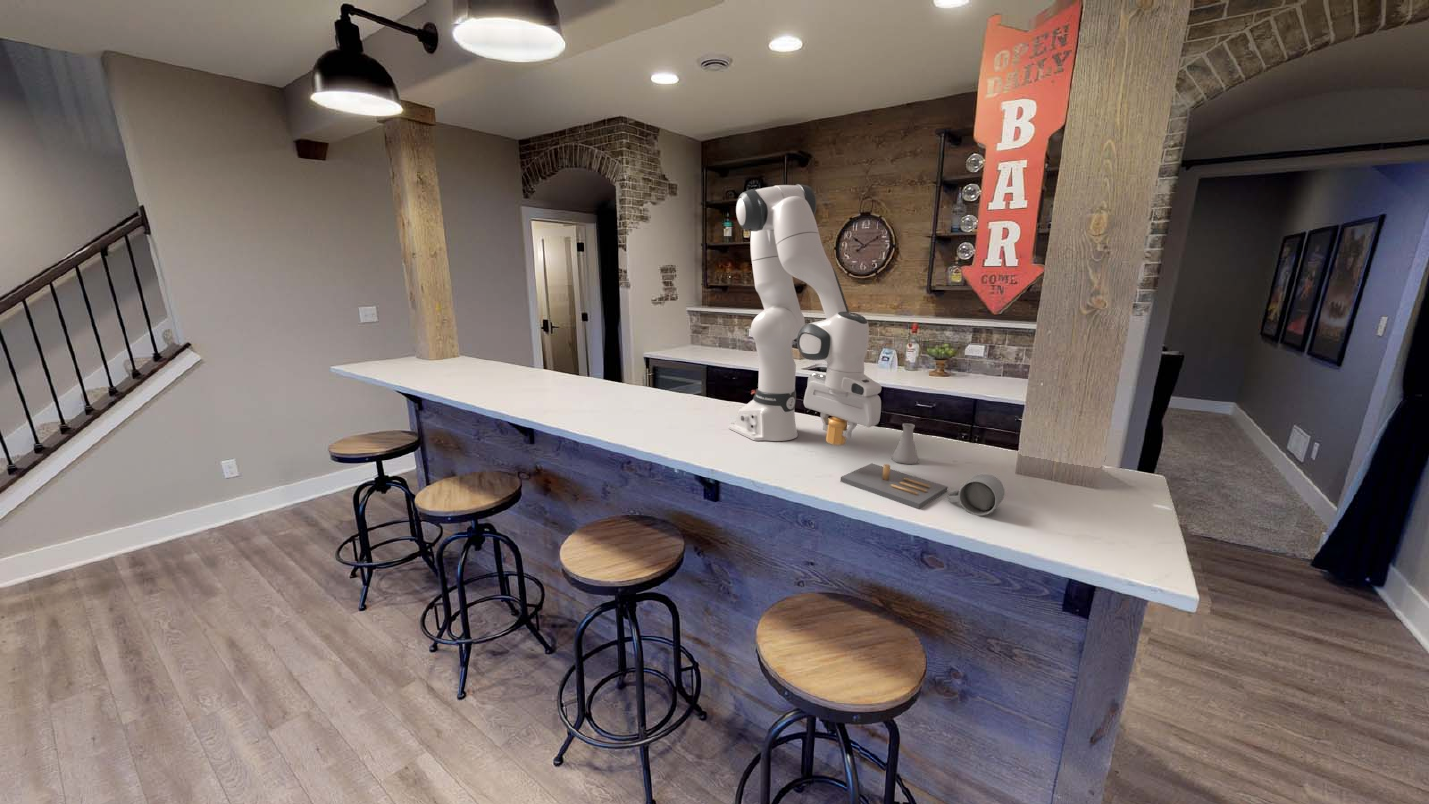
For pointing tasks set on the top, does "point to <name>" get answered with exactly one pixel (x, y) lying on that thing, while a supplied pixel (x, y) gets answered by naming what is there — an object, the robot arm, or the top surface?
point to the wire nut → (836, 430)
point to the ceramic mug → (979, 495)
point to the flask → (906, 447)
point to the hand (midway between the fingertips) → (836, 433)
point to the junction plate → (894, 485)
